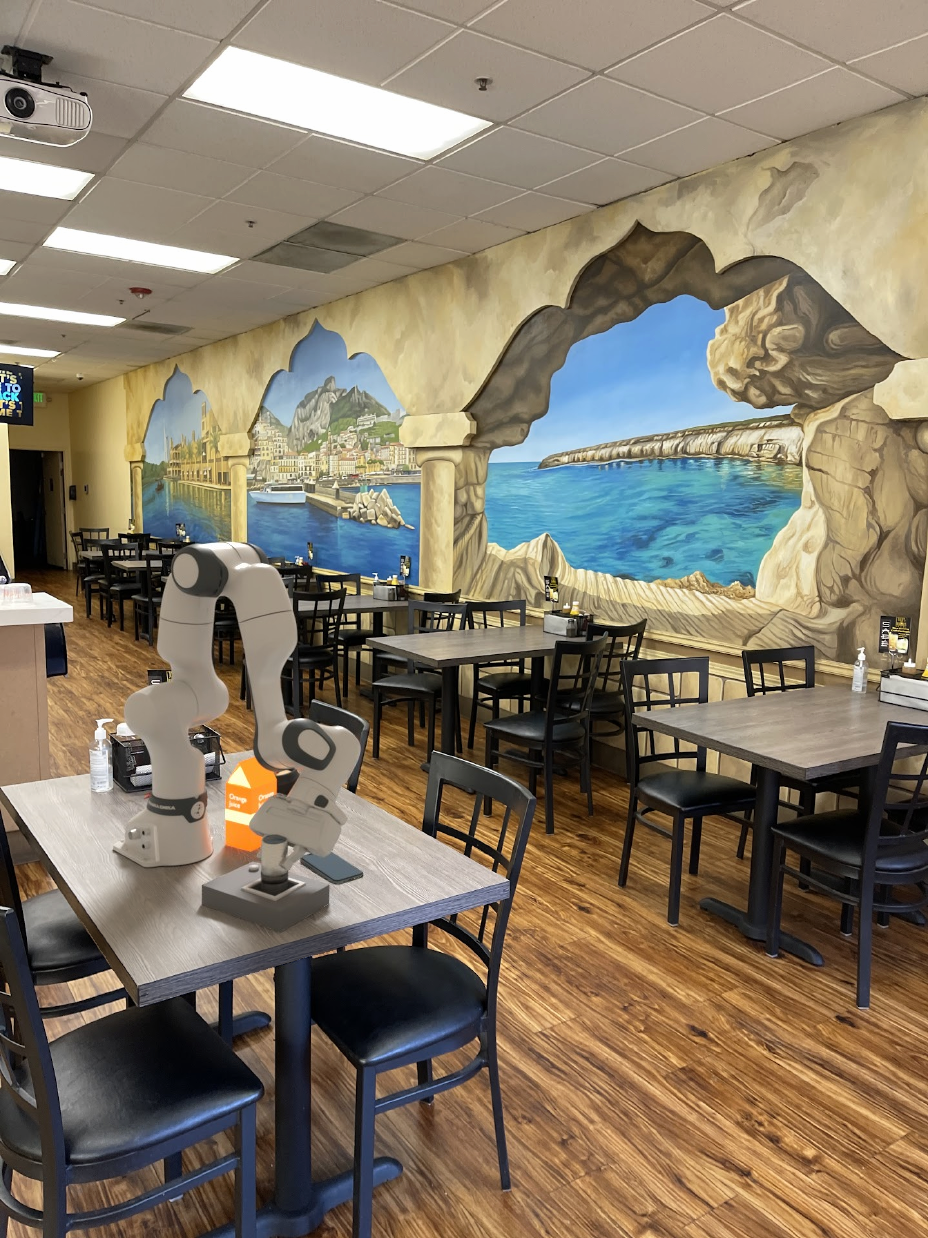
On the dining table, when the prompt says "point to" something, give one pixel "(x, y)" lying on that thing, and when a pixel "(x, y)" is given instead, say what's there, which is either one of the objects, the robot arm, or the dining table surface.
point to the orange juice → (246, 802)
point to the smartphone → (331, 867)
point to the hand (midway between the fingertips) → (272, 864)
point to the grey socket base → (264, 897)
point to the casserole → (286, 780)
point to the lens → (273, 864)
